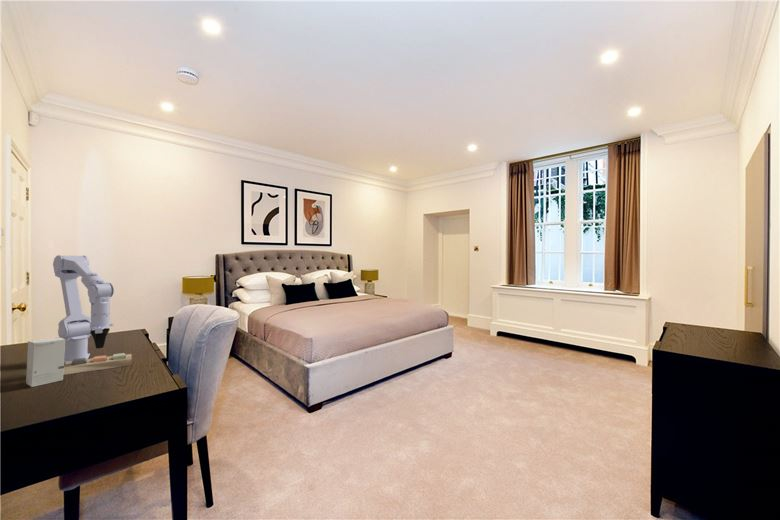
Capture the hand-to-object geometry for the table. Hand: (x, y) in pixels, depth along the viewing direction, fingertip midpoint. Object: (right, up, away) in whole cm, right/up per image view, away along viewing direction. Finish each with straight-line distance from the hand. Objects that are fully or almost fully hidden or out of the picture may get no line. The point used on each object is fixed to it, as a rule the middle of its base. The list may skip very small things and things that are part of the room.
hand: (99, 347), depth 131 cm
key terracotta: (0, -6, 0) cm, 6 cm away
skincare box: (-5, -8, -16) cm, 18 cm away
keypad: (0, -8, 0) cm, 8 cm away
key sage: (+4, -6, +4) cm, 8 cm away
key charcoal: (-5, -6, -4) cm, 8 cm away
